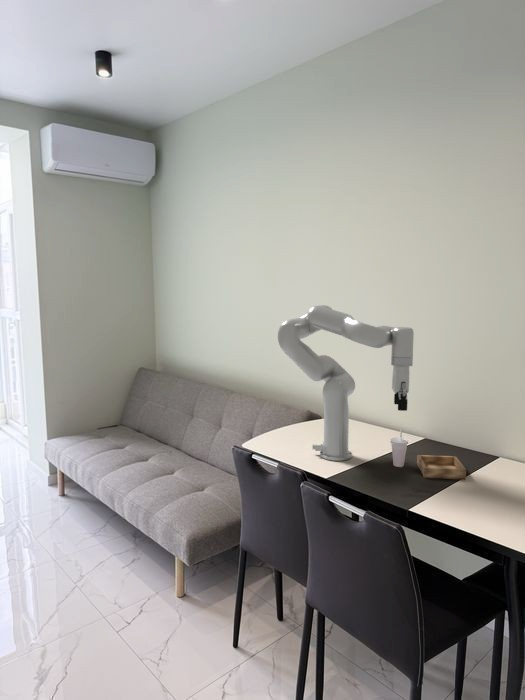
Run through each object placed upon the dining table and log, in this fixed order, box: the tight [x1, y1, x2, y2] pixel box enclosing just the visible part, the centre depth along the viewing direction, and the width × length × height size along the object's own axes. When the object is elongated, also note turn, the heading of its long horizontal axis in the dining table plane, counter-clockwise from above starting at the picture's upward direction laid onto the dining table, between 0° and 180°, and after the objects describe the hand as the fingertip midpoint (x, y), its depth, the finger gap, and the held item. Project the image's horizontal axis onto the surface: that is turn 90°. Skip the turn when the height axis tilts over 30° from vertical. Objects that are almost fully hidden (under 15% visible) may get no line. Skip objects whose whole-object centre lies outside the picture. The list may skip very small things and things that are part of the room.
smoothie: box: [390, 428, 409, 468], centre depth 188 cm, size 6×6×14 cm
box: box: [416, 454, 467, 480], centre depth 182 cm, size 14×14×4 cm
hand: (400, 407), depth 186 cm, fingers open, 9 cm apart
